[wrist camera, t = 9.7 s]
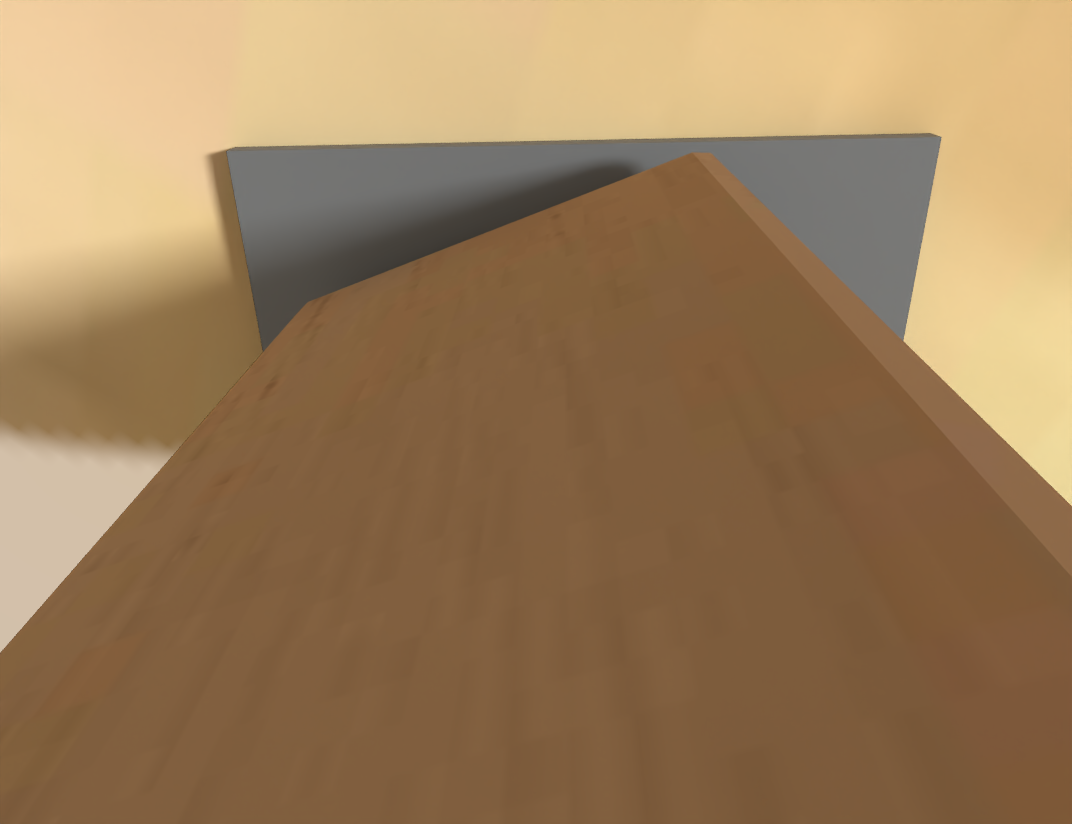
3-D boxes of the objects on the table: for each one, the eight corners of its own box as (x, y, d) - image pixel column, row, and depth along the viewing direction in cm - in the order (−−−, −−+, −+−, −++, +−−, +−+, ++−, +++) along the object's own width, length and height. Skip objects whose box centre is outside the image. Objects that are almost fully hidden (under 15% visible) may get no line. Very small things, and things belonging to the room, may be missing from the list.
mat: (235, 147, 19) (226, 151, 19) (930, 133, 19) (941, 136, 18) (319, 617, 25) (314, 630, 25) (842, 617, 25) (848, 630, 24)
